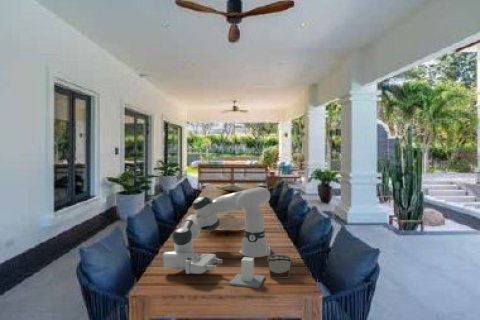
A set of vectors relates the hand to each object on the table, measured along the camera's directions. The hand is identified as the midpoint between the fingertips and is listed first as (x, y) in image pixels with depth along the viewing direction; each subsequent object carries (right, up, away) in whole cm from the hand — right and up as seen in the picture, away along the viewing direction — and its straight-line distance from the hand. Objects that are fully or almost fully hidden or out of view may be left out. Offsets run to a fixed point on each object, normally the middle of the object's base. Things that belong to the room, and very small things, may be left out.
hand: (219, 264), depth 204 cm
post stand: (+14, -7, -3) cm, 16 cm away
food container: (+30, -7, +5) cm, 31 cm away
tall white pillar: (+14, -6, -3) cm, 16 cm away
